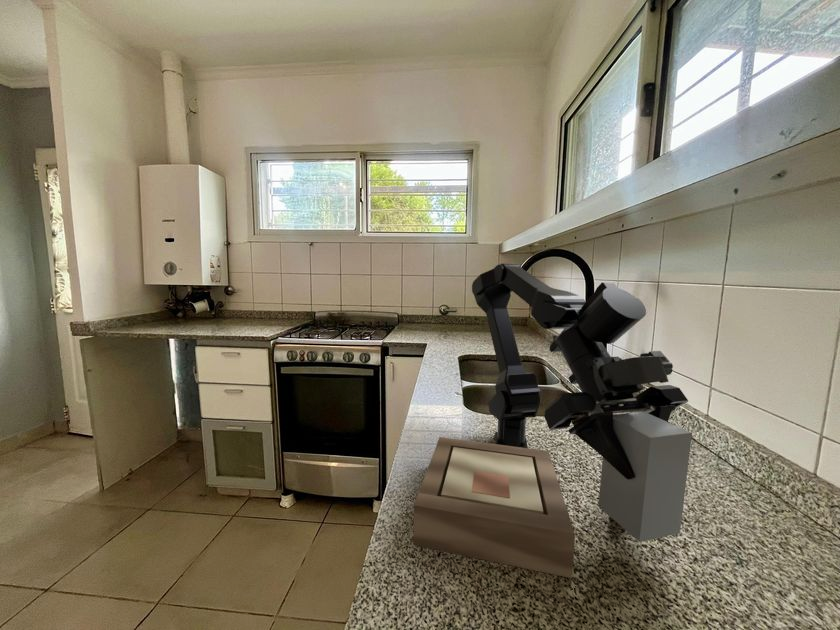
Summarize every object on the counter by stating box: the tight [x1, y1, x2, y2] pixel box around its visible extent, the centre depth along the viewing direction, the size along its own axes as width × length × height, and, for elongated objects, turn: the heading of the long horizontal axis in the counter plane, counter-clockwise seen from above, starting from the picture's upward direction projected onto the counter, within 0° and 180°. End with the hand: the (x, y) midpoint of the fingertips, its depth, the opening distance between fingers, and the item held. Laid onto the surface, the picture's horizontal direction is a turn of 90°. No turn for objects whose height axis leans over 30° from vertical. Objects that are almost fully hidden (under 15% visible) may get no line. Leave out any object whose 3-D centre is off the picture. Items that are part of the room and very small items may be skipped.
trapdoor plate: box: [441, 447, 543, 514], centre depth 48 cm, size 13×13×1 cm
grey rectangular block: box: [597, 412, 693, 543], centre depth 40 cm, size 6×6×12 cm
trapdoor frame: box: [412, 436, 576, 579], centre depth 48 cm, size 19×19×6 cm
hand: (653, 475), depth 38 cm, fingers closed on grey rectangular block, 6 cm apart
